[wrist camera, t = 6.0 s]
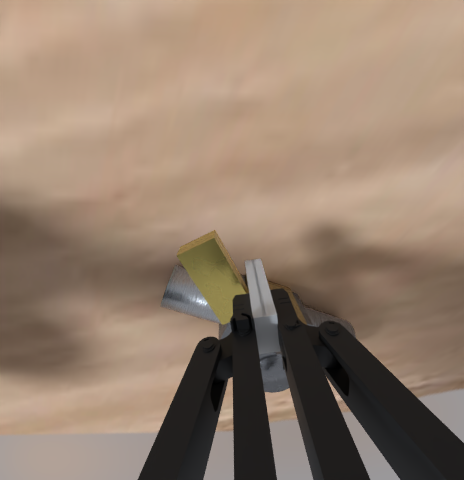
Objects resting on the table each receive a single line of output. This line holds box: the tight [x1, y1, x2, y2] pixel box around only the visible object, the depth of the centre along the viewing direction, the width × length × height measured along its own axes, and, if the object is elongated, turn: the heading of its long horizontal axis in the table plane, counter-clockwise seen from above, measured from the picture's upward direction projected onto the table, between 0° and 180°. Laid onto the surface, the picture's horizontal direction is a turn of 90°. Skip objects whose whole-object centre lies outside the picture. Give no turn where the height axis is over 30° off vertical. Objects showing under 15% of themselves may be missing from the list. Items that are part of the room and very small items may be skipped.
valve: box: [160, 265, 356, 340], centre depth 27 cm, size 24×7×9 cm, turn 68°
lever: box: [177, 230, 289, 392], centre depth 19 cm, size 17×4×2 cm, turn 27°
